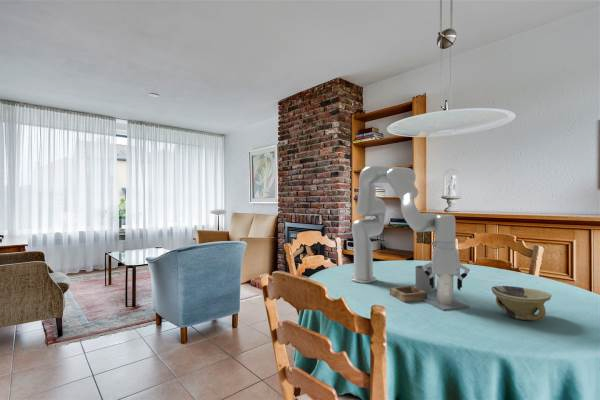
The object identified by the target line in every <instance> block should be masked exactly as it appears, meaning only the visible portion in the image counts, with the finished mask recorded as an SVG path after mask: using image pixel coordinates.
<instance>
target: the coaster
mask: <svg viewBox="0 0 600 400" xmlns="http://www.w3.org/2000/svg"><path fill="white" fill-rule="evenodd" d="M422 301H423V302H425V303H427V304H428V305H431V306H432V307H435V308H437V309H439V310H441V311H443V312H446V311H452V310H459V309H460V310H461V309H468V308H470V305H469V304H466V303H464V302H462V301H459V300H456V299H454V304H452V305H443V304H440V303H438V302H437V297H432V298H427V299H423V300H422Z"/></svg>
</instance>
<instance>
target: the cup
mask: <svg viewBox="0 0 600 400" xmlns="http://www.w3.org/2000/svg"><path fill="white" fill-rule="evenodd" d="M422 266H423V265H416V266H415V287H416V288H418V289H420V290H423V291H425V292H427V293H428V292H429V293H431V292H435V291H436V274H435V275H434V276H433V279H434V288H432V287H431V285H430V278H429V276H428V275H426V274H425V272H424V270H423V268H422ZM426 269H427V271H428V272H429V273H430V272H431V271H432V267H431V266H430V267H428V268H426Z"/></svg>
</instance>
